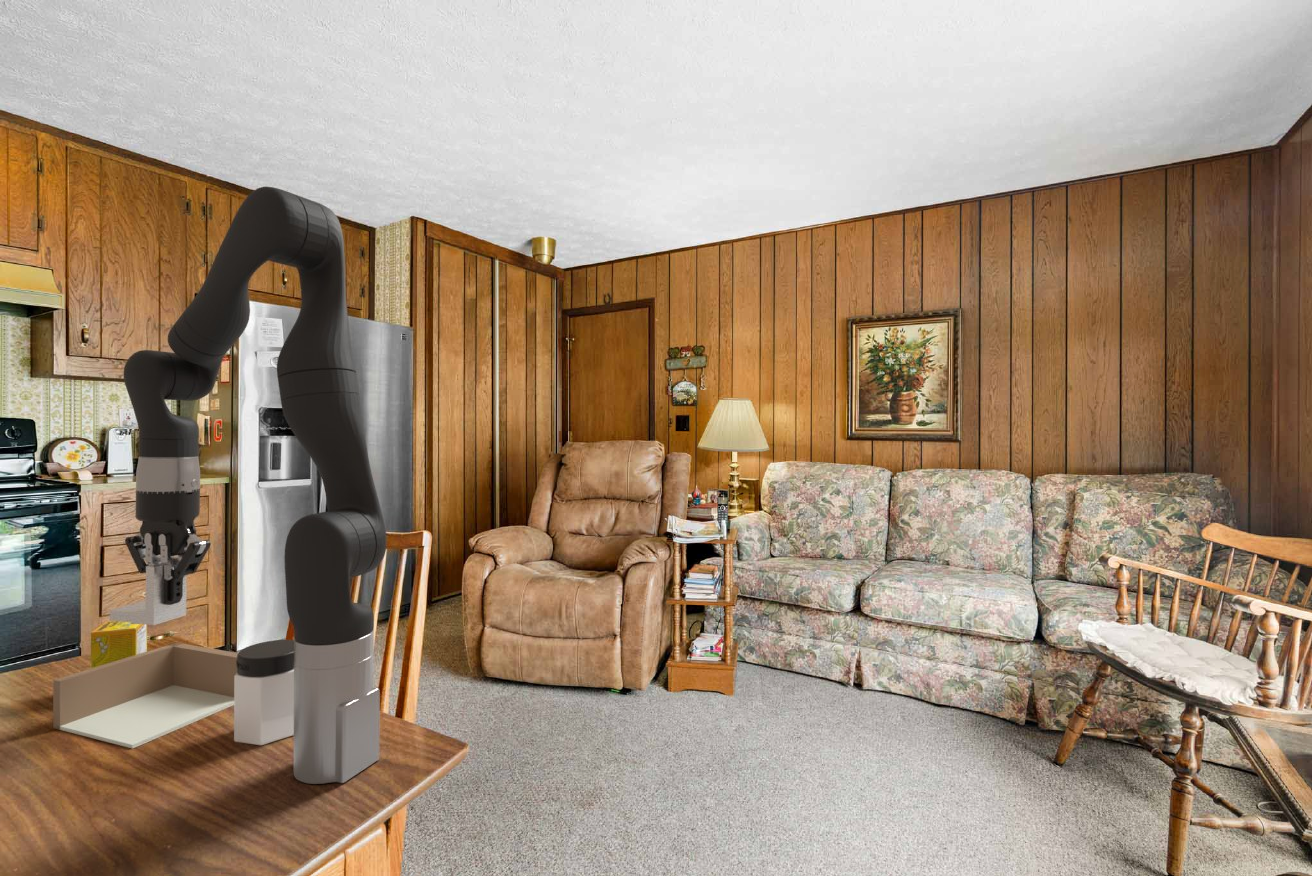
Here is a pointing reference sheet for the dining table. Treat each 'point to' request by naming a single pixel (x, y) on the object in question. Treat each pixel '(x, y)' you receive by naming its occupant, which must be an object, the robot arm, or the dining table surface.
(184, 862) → the dining table surface
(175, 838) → the dining table surface
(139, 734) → the tray
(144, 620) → the bracket
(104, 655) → the supplement box
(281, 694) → the jar
